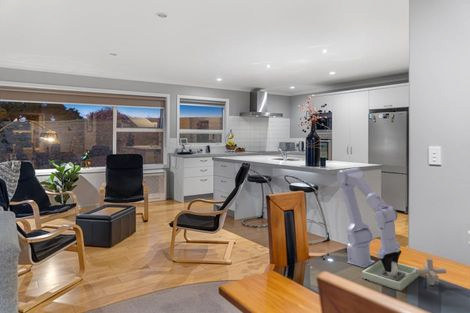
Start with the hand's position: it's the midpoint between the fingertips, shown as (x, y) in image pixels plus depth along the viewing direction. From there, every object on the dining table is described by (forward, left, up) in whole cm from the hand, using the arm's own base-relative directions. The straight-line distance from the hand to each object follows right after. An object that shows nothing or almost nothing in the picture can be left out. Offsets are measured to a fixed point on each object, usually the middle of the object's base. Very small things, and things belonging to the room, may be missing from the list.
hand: (391, 269), depth 132 cm
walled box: (-1, +1, -4) cm, 4 cm away
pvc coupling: (0, 0, -3) cm, 3 cm away
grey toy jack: (+13, +5, -4) cm, 15 cm away
